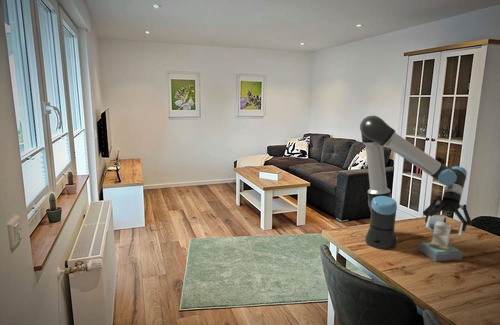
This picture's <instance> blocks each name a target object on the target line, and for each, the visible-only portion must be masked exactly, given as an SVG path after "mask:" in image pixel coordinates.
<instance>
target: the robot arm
mask: <svg viewBox="0 0 500 325" xmlns="http://www.w3.org/2000/svg"><path fill="white" fill-rule="evenodd" d="M359 131H360V133H361V141H362V142H361V143H362V144H363V145H364V146H365V153H366V161H367V172H368V181H369V189H368V190H367V198H368V199H367V204H368V208H369V211H370V219H369V220H370V221H369V228H368V230H367V232H366V235H365V236H364V237H365V238H364V242H365V243H366V244H367V245H368V246H370V247H373V248H377V249H381V250H393V249H395V248H396V247H397V242H398V240H397V236H396V233H395V225H396V218H397V217H396V216H397V210H398V206H397V201H396V200H395V198H393V197H392V192H391V188H388V185H387V173H386V172H387V171H386V164H385V163H386V162H385V153H384V152H385V151H384V147H386V148H388V149H390V150H391V151H392V152H394V153H396V154H397V155H399V156H400V157H402V158H403V159H405V160H406V161H408V162H409V163H411V164H413V165H414V166H416V167H417V168H418V169H420V170H421V171H422V172H424V173H426V174H427V175H429V176H430V177H431V178H433V179H435V180H436V181H437V182H439V183H440V184H441V185H444V186H445V187H444V191H443V192H444V193H443V194H442V197H441V200H438V199H437V198H435V199H434V200H433V202H432V203H431V204H430V205H429V206H428V207H426V208H425V209H424V210H422V214H423V216H425V220H424V222H425V223H426V224H425V230H426V231H428V230H429V224H430V220H431V216H433V215H435V216H436V214H438V213H440V212H442V211H444V212H449V213H454V214H455V215H456V216H457V218H458V219H459V221H460V227H459V232H458V234H457V236H458V238H459V239H461V237H462V233H463V232H465V231H466V228H467V226H472V218H471V217H470V215H469V212H468V209H467V204H466V203H465V204H460V203H461V199H462V195H463V192H464V187H465V184H466V183H465V182H466V180H467V173H468V171H467V170H466V168H464V167H463V166H458V165H456V166H452V167H449V166H447V165H446V164H443V163H441V162H440V161H438V160H437V159H436V158H434V157H432V156H431V155H429V154H427V153H426V152H425V151H423V150H422V149H420V148H419V147H418V146H415V145H414V144H413V143H412V142H410V141H408V140H407V139H405V138H403V137H402V136H400V134H398V133H397V132H396V129H394V128H392V127H391V126H390V125H389V124H387V123H386V122H385V120H384V119H382V118H381V117H379V116H377V115H367V116H366V117H364V118H363V119H362V121H361V122H360V124H359ZM436 206H438V207H436ZM435 207H436V208H435ZM459 209H461V210H462V211H463V212H462V213H463V215H464V216H465V218H464V216H463V215H462V214H461V212H460V211H459Z"/></svg>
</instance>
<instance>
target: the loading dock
mask: <svg viewBox="0 0 500 325" xmlns="http://www.w3.org/2000/svg"><path fill="white" fill-rule="evenodd" d="M430 242H431V241H429V242H419V243H417V244H418V245H417V250H418V251H419V252H420V253H422V254H424V255H425V256H426V257H428V258H430V259H431V260H432V261H434V262H443V261H453V260H462V259H463V254H464V252H463V251H461V250H459V249H458V248H456V247H455V246H452V245H451V247H450V249H449V251H448V252H447V251H443V250H440V249H436V248H432V247H429V243H430Z"/></svg>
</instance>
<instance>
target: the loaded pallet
mask: <svg viewBox="0 0 500 325" xmlns="http://www.w3.org/2000/svg"><path fill="white" fill-rule="evenodd" d="M433 229H434V232H433V231H432V232H433V233H432V239H430V241H429V242H430V243H429V247H432V248H436V249H440V250H443V251H447V252H448V251H449V249H450V247H451V246H452V242H450V237H451V232H452V231H451V229H452V223H449V222H448V223H447V222H446V223H444V222H440V221H437V222H436V223H435V224H434V228H433Z"/></svg>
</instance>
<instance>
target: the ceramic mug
mask: <svg viewBox="0 0 500 325" xmlns="http://www.w3.org/2000/svg"><path fill="white" fill-rule="evenodd" d="M437 221H440V222H444V223H447V218H446V216H442V215H441V216H440V215H436V214H435V215H433V216H431V220H430V224H429V227H428V230H429V231H431V232H434V224H435V223H436V222H437Z"/></svg>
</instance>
